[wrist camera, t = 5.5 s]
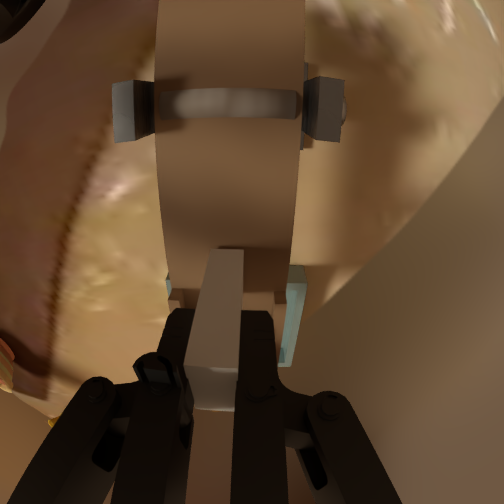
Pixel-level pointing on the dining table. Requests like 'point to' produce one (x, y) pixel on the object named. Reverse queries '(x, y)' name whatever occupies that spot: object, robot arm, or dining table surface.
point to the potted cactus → (6, 367)
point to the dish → (287, 311)
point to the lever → (229, 142)
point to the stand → (313, 109)
